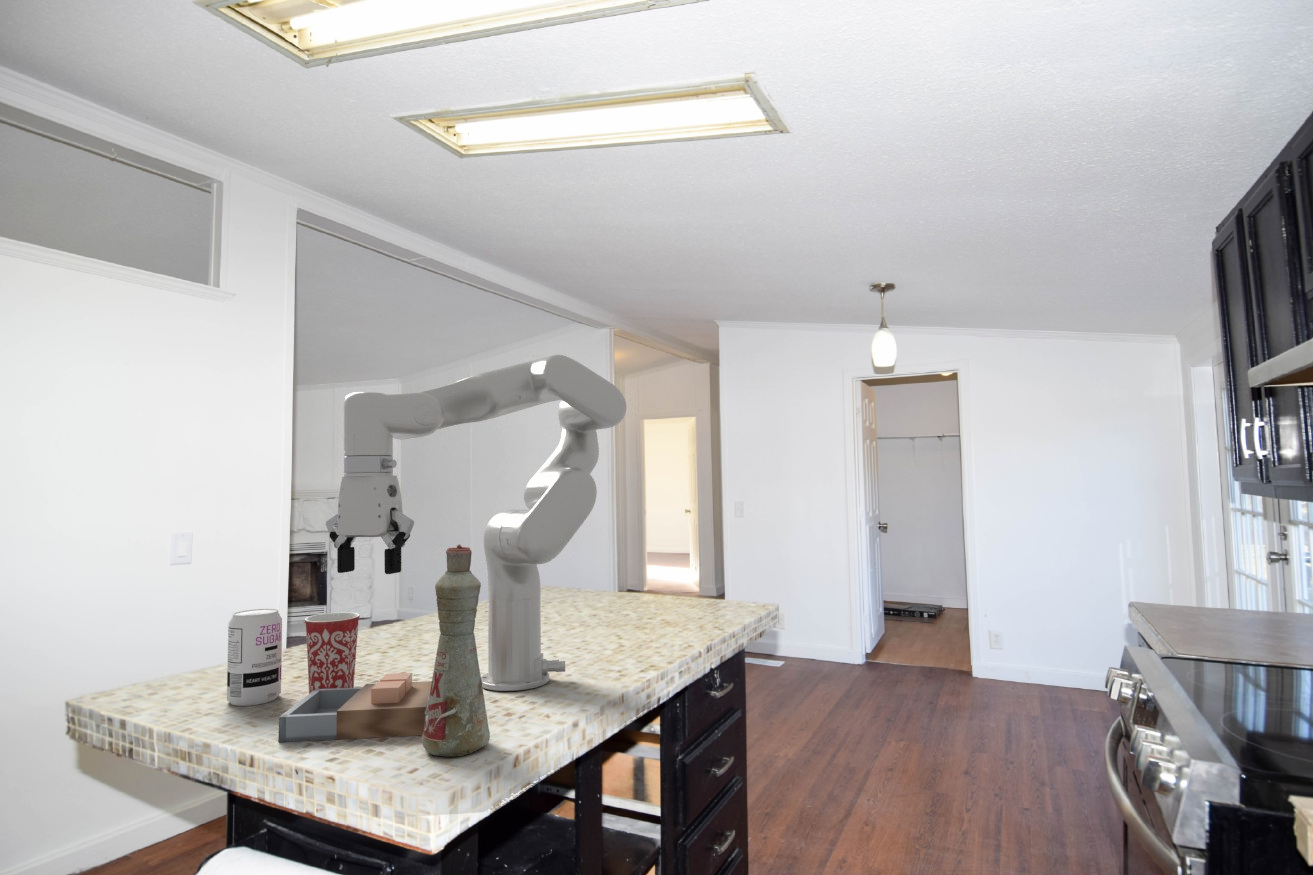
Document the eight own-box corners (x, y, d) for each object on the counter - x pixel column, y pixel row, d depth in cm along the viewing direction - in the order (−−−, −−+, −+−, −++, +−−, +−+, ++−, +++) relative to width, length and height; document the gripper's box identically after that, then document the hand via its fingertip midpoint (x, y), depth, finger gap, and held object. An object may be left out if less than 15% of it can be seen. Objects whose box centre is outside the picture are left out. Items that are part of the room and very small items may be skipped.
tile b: (412, 686, 121) (412, 672, 121) (406, 693, 117) (406, 678, 117) (386, 687, 120) (386, 673, 121) (380, 694, 117) (380, 680, 117)
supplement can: (240, 694, 133) (241, 608, 134) (288, 692, 134) (289, 607, 134) (217, 708, 125) (219, 616, 126) (268, 705, 125) (270, 615, 126)
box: (366, 708, 123) (366, 686, 123) (336, 739, 108) (336, 714, 108) (315, 710, 122) (315, 689, 122) (278, 742, 107) (278, 717, 107)
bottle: (485, 758, 99) (484, 545, 101) (415, 761, 99) (416, 547, 100) (494, 736, 108) (493, 541, 110) (429, 739, 107) (430, 542, 109)
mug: (354, 698, 129) (355, 619, 130) (297, 702, 127) (298, 621, 128) (366, 680, 141) (367, 607, 142) (315, 683, 140) (316, 610, 140)
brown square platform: (447, 705, 124) (447, 680, 124) (428, 734, 109) (428, 706, 110) (366, 708, 123) (366, 683, 123) (336, 739, 108) (336, 710, 108)
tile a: (404, 695, 116) (405, 680, 116) (398, 702, 112) (398, 687, 112) (378, 696, 116) (378, 681, 116) (371, 703, 112) (371, 688, 112)
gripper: (426, 466, 123) (427, 570, 123) (345, 469, 130) (345, 568, 129) (395, 465, 117) (395, 576, 116) (310, 469, 123) (310, 574, 122)
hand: (369, 572), depth 122 cm, fingers open, 9 cm apart
